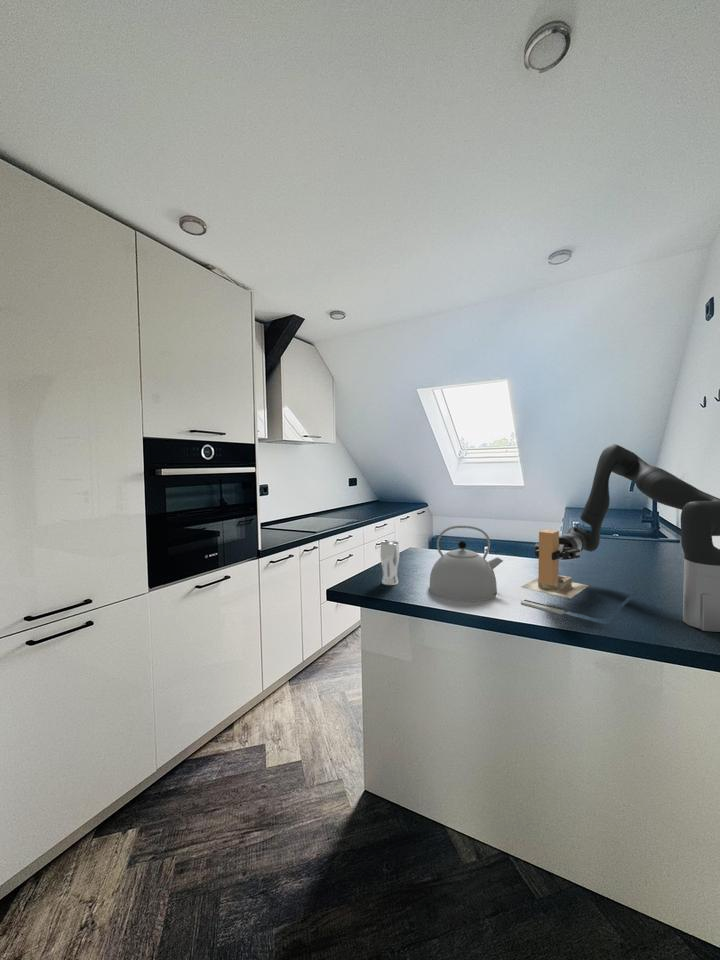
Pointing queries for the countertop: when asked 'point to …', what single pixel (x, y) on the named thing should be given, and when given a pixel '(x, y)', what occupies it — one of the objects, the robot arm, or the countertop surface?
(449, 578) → the kettle
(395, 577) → the beer glass
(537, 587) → the wooden socket base
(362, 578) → the countertop surface
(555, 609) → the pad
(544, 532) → the tan rectangular block
